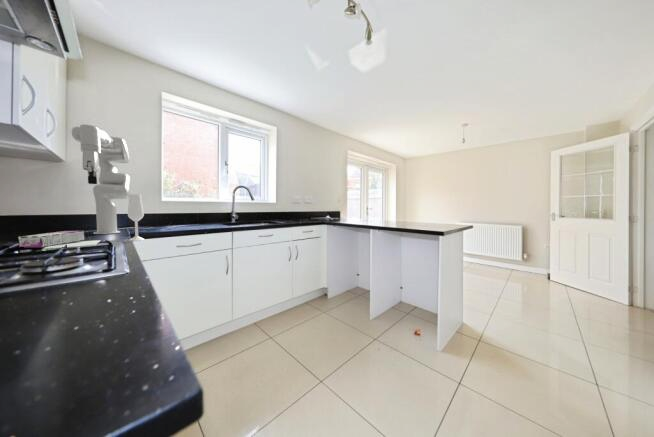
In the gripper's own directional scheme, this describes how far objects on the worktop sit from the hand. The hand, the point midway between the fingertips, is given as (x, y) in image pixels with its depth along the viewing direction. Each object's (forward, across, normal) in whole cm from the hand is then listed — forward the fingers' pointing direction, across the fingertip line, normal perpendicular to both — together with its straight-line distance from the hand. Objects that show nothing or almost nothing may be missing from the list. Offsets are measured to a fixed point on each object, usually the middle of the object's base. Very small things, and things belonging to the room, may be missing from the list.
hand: (92, 183), depth 126 cm
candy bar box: (+26, +13, -5) cm, 30 cm away
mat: (+29, +24, -3) cm, 38 cm away
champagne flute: (+30, +19, +19) cm, 40 cm away
